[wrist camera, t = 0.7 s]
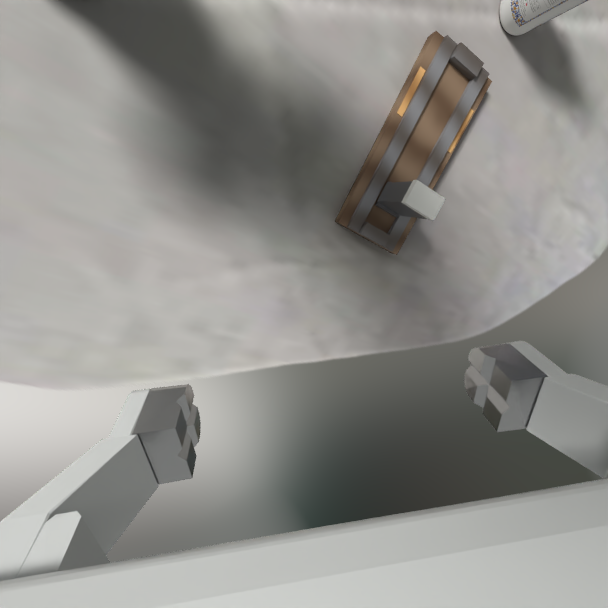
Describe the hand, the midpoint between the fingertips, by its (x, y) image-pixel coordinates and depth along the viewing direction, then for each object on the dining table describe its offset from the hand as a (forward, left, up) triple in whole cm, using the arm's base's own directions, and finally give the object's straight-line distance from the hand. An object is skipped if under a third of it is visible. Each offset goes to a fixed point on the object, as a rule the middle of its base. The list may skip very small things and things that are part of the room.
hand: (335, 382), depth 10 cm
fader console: (-3, +30, -46) cm, 55 cm away
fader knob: (+3, +25, -44) cm, 50 cm away
